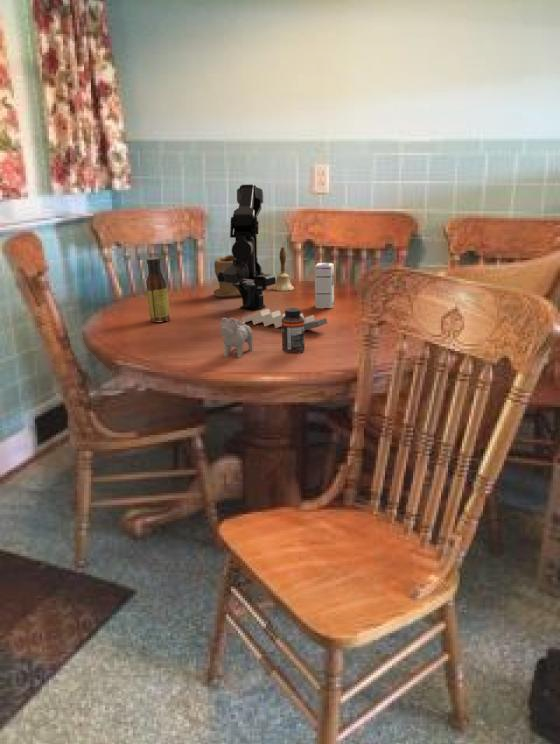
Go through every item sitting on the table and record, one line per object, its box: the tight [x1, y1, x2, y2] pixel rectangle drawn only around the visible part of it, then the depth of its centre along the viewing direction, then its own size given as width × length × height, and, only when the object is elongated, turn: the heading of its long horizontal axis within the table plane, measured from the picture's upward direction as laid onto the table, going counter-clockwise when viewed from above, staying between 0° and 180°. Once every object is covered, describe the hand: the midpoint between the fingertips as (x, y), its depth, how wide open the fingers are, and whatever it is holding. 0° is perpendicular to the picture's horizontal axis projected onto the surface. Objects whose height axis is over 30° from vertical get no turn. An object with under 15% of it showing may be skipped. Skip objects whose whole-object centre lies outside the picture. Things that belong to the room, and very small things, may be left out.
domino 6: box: [304, 317, 328, 331], centre depth 192 cm, size 2×4×8 cm
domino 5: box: [304, 314, 316, 324], centre depth 195 cm, size 2×4×8 cm
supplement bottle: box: [281, 307, 305, 354], centre depth 173 cm, size 6×6×11 cm
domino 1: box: [241, 308, 271, 324], centre depth 204 cm, size 2×4×8 cm
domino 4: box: [273, 312, 305, 329], centre depth 197 cm, size 2×4×8 cm
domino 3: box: [262, 313, 285, 327], centre depth 199 cm, size 2×4×8 cm
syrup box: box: [314, 262, 335, 309], centre depth 222 cm, size 6×6×14 cm
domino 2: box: [251, 309, 282, 326], centre depth 202 cm, size 2×4×8 cm
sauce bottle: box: [145, 257, 171, 322], centre depth 206 cm, size 7×6×20 cm
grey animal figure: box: [219, 317, 253, 358], centre depth 171 cm, size 5×13×11 cm, turn 158°
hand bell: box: [272, 246, 295, 292], centre depth 252 cm, size 8×8×16 cm
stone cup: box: [213, 254, 241, 298], centre depth 242 cm, size 15×12×15 cm
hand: (247, 305), depth 205 cm, fingers closed
